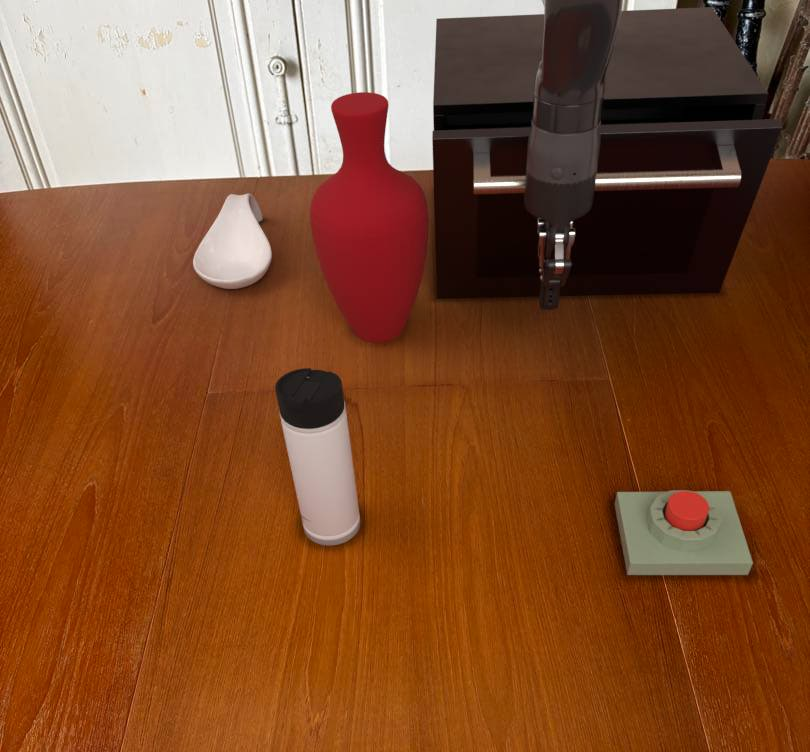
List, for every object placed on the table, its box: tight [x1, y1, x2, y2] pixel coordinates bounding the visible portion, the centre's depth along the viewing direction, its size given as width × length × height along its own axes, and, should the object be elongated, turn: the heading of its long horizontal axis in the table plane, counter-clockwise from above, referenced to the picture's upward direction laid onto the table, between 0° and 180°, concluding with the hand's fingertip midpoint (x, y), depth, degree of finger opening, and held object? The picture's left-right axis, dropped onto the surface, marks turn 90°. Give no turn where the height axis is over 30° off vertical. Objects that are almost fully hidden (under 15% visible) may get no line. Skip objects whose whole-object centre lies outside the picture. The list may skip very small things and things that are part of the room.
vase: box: [309, 91, 430, 344], centre depth 102 cm, size 15×15×30 cm
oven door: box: [431, 118, 783, 300], centre depth 104 cm, size 7×40×26 cm, turn 88°
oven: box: [432, 6, 769, 131], centre depth 118 cm, size 32×40×26 cm
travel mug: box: [274, 367, 361, 547], centre depth 82 cm, size 6×7×20 cm
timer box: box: [614, 489, 754, 576], centre depth 84 cm, size 12×10×4 cm
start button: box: [665, 490, 709, 531], centre depth 82 cm, size 4×4×2 cm
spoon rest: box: [192, 192, 273, 290], centre depth 125 cm, size 24×12×7 cm, turn 2°
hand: (548, 306), depth 100 cm, fingers closed
